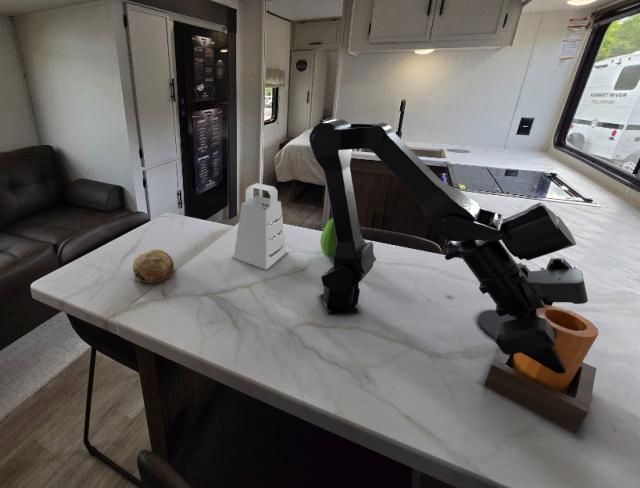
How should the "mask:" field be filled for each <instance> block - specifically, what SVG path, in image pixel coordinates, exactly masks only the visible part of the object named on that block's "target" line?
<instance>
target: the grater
mask: <svg viewBox="0 0 640 488" xmlns="http://www.w3.org/2000/svg"><path fill="white" fill-rule="evenodd" d="M254 189H257V190H262V191H266V192H267V193H268V194H269V198H268V197H264V196H259V195H256V196H254V193H255V192H254ZM278 192H279V191H278V190H277V188H276V187H275V186H273V185H268V184H262V183H259V182H256V183H253V184H251V185H249V186H247V188H246V189H245V201H244V202H241V204H240V211H239V217H238V224H237V231H236V239H235V244H234V253H233V259H235V260H238V261H241V262H244V263H246V264H250V265H252V266H256V267H258V268H261V269H262V270H267V269H269V268H270V267H271V266H273V265H274V264H275V263H276V262H277V261H279V260H280V259H281V258H282V257H284V256H285V255H286V253H287V251H286V240H285V231H284V221H283V220H284V219H283V209H282V202H281V200H278V194H279V193H278ZM266 205H267V206H266ZM276 220H277V221H276ZM276 235H277V236H276ZM275 252H276V253H275ZM271 255H272V256H271Z"/></svg>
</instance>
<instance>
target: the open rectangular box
mask: <svg viewBox="0 0 640 488" xmlns="http://www.w3.org/2000/svg"><path fill="white" fill-rule="evenodd" d="M513 355H514V354H510V355H506V354H504V353H503V352H502V351H501V349H500V348H499V350H498V351H497V353H496V355H495V357H494V359H493V361H492V363H491V365H490V368H489V369H488V370H489V371H488V373H487V376H486V378H485V380H484V383H483V385H484V386H485V387H487V388H489V389H491V390H493V391H494V392H496V393H498V394H500V395H502V396H504V397H506V398H508V399H509V400H511V401H513V402H515V403H517V404H518V405H520V406H522V407H524V408H526V409H528V410H530V411H532V412H534V413H535V414H537V415H539V416H540V417H543V418H544V419H546V420H548V421H550V422H552V423H554V424H555V425H558V427H561V428H563V429H564V430H566V431H568V432H571V433H572V434H574V435H576V434H577V433H578V432H579V430H580V428H581V426H582V425H583V424H584V421H585V420H586V418H587V416H588V415H589V413H590V407H591V402H592V396H593V391H594V385H595V378H596V373H597V367H594V366H593V365H591V364H588V363H586V362H584V361H583V362H582V364H581V365H580V367H579V369H578V371H577V372H576V374H575V376H574V377H573V379H572V381H571V383H570V384H569V386H568V388H570V391H569V395H568V394H565V393H564V394H563V393H561V392H559V391H557V390H555V389H553V388H551V387H549V386H547V385H545V384H543V383H541V382H539V381H537V380H535V379H533V378H531V377H529V376H527V375H525V374H523V373H520V372H518V371H516V370H514V369H512V368H510V367H508V366H509V365H508V364H509V361H510V360H511V359H512V357H513Z"/></svg>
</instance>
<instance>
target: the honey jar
mask: <svg viewBox="0 0 640 488" xmlns="http://www.w3.org/2000/svg"><path fill="white" fill-rule="evenodd" d="M538 316H539V317H542V318H545V319H546V320H547V321H548V322H549V324H550V325H551V327H552V329H553V328H556V341H555V345H554V348H555V350H556V352H557V354H558V356H559V358H560V360H561V361H562V364H563V366H564V368H565V370H566V373H561V374H557V373H555V372H554V371H552V370H550V369H549V368H547V367H545V366H544V365H542V364H540V363H538V362H537V361H535V360H533V359H532V358H530V357H528V356H526V355H524V354H522V353H516V354H514V355H513V357H512V359H510V360H509V361H510V362H508V365H507V366H508V367H510V368H512V369H514V370H516V371H518V372H520V373H523V374H525V375H527V376H529V377H531V378H533V379H535V380H537V381H539V382H541V383H543V384H545V385H547V386H549V387H551V388H553V389H555V390H557V391H559V392H561V393H563V394H565V393H566V392H567V390H568V388H569V387H568V386H569V384H570V383H571V381H572V379H573V377H574V376H575V374H576V372H577V371H578V369H579V367H580V365H581V364H582V362H583V363H584V360H585V358H586V356H587V355H588V353H589V351H590V350H591V347H592V346H593V345H594V343H595V341H596V339H597V338H598V336H599V329H598V328H597V327H596V325H595V324H594V323H593V322H592V321H591V320H589V319H587V318H586V317H584V316H583V315H581V314H579V313H577V312H574V311H573V310H570V309H568V308H567V309H566V308H564V307H561V306H556V305H552V306H551V305H545V307H544V308H539V309H538Z"/></svg>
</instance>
